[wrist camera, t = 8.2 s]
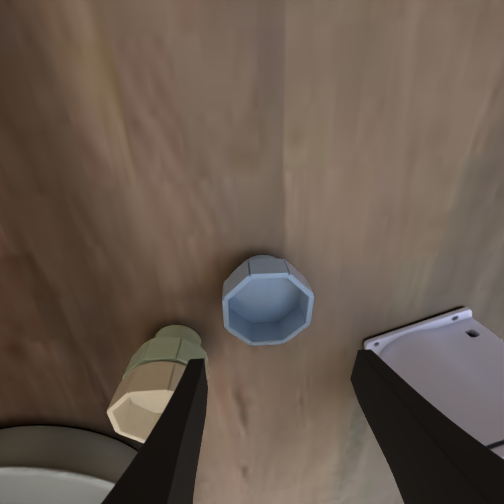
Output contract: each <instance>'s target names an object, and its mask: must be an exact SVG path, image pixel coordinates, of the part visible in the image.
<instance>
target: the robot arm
mask: <svg viewBox="0 0 504 504" xmlns="http://www.w3.org/2000/svg"><path fill="white" fill-rule="evenodd" d="M364 348H365V350H358V353H357V357H356V360H355V364H354V368H353V371H352V375H351V382H352V385H353V388H354V391H355V394H356V396H357V399H358V402H359V404H360V406H361V408H362V410H363V412H364V415H365V417H366V419H367V421H368V423H369V425H370V427H371V429H372V431H373V433H374V435H375V437H376V439H377V441H378V443H379V446H380V448H381V450H382V452H383V454H384V456H385V458H386V460H387V462H388V464H389V467H390V469H391V471H392V473H393V476H394V478H395V481H396V483H397V486H398V488H399V491H400V493H401V496H402V499H403V501H404V504H504V341H503V340H502V339H500V338H499V337H498V336H496V335H495V334H494V333H492V332H491V331H490V330H488V329H487V328H486V327H484V326H483V325H482V324H480V323H479V322H478V321H476V320H475V319H474V318H472V310H470V309H469V308H467V307H464V308H461V309H458V310H455V311H452V312H449V313H446V314H443V315H440V316H437V317H434V318H431V319H428V320H425V321H422V322H419V323H416V324H413V325H410V326H407V327H404V328H401V329H398V330H395V331H392V332H389V333H386V334H383V335H380V336H377V337H374V338H371V339H368V340H366V341H365V342H364ZM207 394H208V385H207V377H206V369H205V361H204V358H200V359H190V360H189V361H188V363H187V366H186V368H185V370H184V372H183V375H182V377H181V379H180V381H179V383H178V385H177V387H176V389H175V391H174V393H173V395H172V396H171V398H170V400H169V402H168V404H167V406H166V407H165V409H164V411H163V413H162V414H161V416H160V418H159V419H158V421H157V423H156V424H155V426H154V428H153V429H152V431H151V433H150V434H149V436H148V438H147V439H146V441H145V442H144V444H143V445H142V447H141V448H140V450H139V451H138V453H137V454H136V456H135V457H134V459H133V460H132V462H131V463H130V465H129V466H128V467H127V469H126V470H125V472H124V473H123V474H122V476H121V477H120V479H119V480H118V481H117V483H116V484H115V485H114V487H113V488H112V490H111V491H110V492H109V494H108V495H107V496H106V498H105V499H104V500H103V502H102V503H101V504H193V493H194V485H195V478H196V471H197V465H198V459H199V453H200V447H201V441H202V435H203V429H204V423H205V417H206V407H207Z"/></svg>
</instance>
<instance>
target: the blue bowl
mask: <svg viewBox="0 0 504 504" xmlns="http://www.w3.org/2000/svg"><path fill="white" fill-rule="evenodd" d="M313 303H314V294H313V292H312V290H311V288H310V286H309V284H308V282H307V280H306V278H305V277H304V276H303V275H301V274H300V273H299V271H298V270H297V269H296V268H295V267H294V266H292V265H291V264H290V263H288V262H287V261H286V260H285V259H284V260H283V259H277V258H275V257H273V256H269V255H257V256H253V257H251V258H248V259H247V260H245V261H244V262H243V263H242V264H241V265H240V266H239V267H238V268H237V269H235V270H234V271H233V272H232V274H231V275H230V276H229V278H228V279H226V280H225V281H224V284H223V294H222V307H223V322H224V328H225V330H227V331H228V332H230V333H231V334H233V335H234V336H236V337H237V338H239V339H240V340H242V341H243V342H245V343H246V344H248V345H250V344H251V346H258V345H276V344H283V342H284V343H286V342H288V341H289V340H290V339H292V338H293V337H294V336H296V335H297V334H298V333H300V332H301V331H302V330H304V329H305V328H306V327H308V326H309V323H311V318H312V310H313Z"/></svg>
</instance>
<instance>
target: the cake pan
mask: <svg viewBox="0 0 504 504" xmlns="http://www.w3.org/2000/svg"><path fill="white" fill-rule="evenodd" d="M137 453H138V452H137V451H136V450H134V449H133V448H131V447H130V446H128V445H126V444H124V443H122V442H120V441H118V440H116V439H113V438H110V437H107V436H105V435H101V434H98V433H94V432H90V431H86V430H81V429H75V428H68V427H58V426H21V427H12V428H6V429H1V430H0V504H101V503H102V502H103V500H104V499H105V498H106V496H107V495H108V494H109V492H110V491H111V490H112V488H113V487H114V485H115V484H116V483H117V481H118V480H119V479H120V477H121V476H122V474H123V473H124V472H125V470H126V469H127V467H128V466H129V465H130V463H131V462H132V460H133V459H134V457H135V456H136V454H137Z"/></svg>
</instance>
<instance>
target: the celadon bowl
mask: <svg viewBox="0 0 504 504" xmlns="http://www.w3.org/2000/svg"><path fill="white" fill-rule="evenodd" d="M200 358H204V361H205V369H206V377H207V384H208V375H209V369H208V357H207V353H205V351H204V350H203V349H202V347H201V339H200V337H199V335H198V334H197V333H196V332H195V331H194V330H193V329H191V328H189V327H186V326H182V325H170V326H166V327H164V328H162V329H160V330H159V331H158V332H157V333H156V335H155V337H154V338H153V339H151V340H148V341H147V342H145V343H144V344H143V345H142V346H141V347H140V348H139V349H138V351H137V352H136V353H135V354H134V355H133V356H132V358H131V360H130V362H129V364H128V366H127V369H126V371H125V373H124V375H123V378H122V379H123V380H124V379H125V377H126V376H127V374H128V373H129V372H130V371H132V370H133V369H134V368H136V367H138V366H140V365H142V364H144V363H150V362H157V361H167V362H169V361H176V362H178V363H180V364H182V365H185V366H187V363H188V361H189V360H190V359H200Z"/></svg>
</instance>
